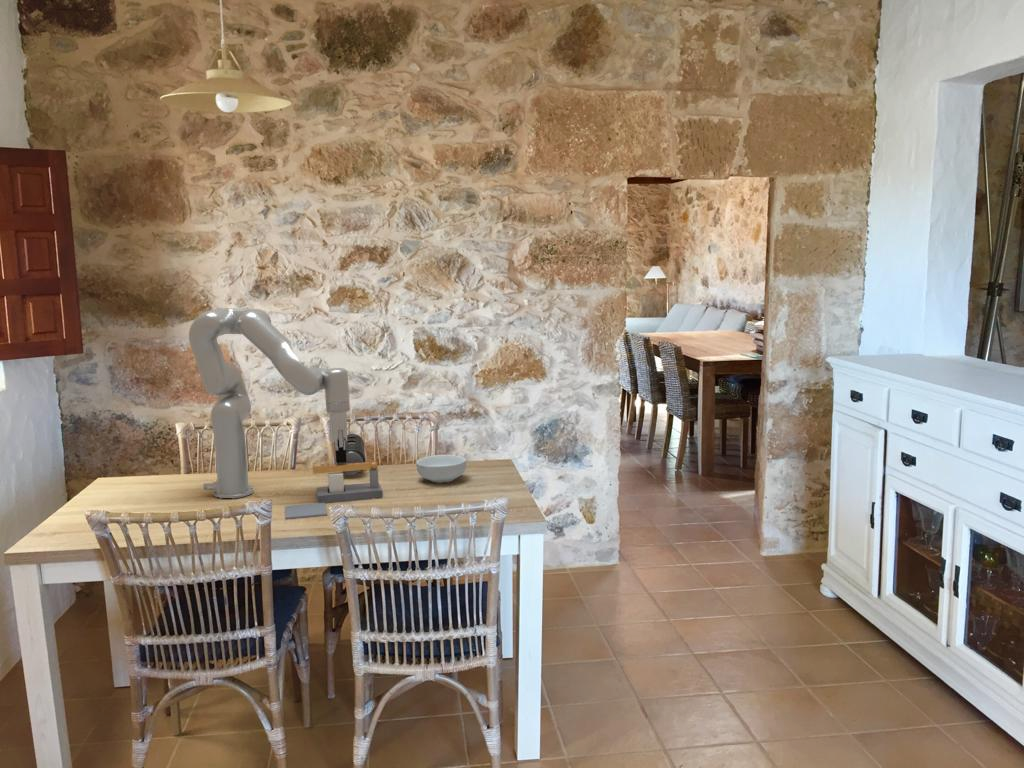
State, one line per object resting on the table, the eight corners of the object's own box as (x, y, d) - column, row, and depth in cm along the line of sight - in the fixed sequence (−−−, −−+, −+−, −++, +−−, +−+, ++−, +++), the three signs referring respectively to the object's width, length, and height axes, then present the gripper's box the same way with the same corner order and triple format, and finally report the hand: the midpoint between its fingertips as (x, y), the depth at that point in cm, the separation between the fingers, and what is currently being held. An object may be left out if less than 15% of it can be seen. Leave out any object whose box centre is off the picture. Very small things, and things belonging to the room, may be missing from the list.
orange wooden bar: (313, 474, 266) (312, 468, 266) (312, 472, 269) (312, 466, 269) (378, 468, 272) (377, 462, 271) (377, 466, 274) (376, 460, 274)
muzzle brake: (365, 459, 321) (364, 432, 319) (366, 478, 293) (364, 449, 292) (340, 460, 319) (338, 433, 318) (337, 480, 292) (336, 450, 290)
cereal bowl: (456, 471, 301) (456, 452, 300) (474, 482, 286) (473, 462, 285) (410, 477, 294) (409, 457, 293) (426, 489, 279) (425, 468, 278)
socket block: (318, 503, 265) (317, 478, 263) (316, 494, 274) (315, 470, 273) (382, 497, 270) (381, 472, 268) (379, 489, 279) (378, 465, 278)
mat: (285, 519, 250) (285, 517, 249) (285, 507, 261) (285, 506, 261) (327, 515, 253) (327, 513, 253) (325, 503, 264) (324, 502, 264)
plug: (330, 500, 268) (329, 475, 267) (329, 496, 272) (328, 472, 271) (344, 498, 269) (343, 474, 268) (343, 495, 274) (342, 471, 272)
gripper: (324, 403, 279) (328, 457, 282) (327, 411, 265) (331, 468, 268) (347, 401, 281) (351, 455, 284) (351, 409, 267) (355, 466, 270)
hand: (341, 461), depth 276 cm, fingers closed
